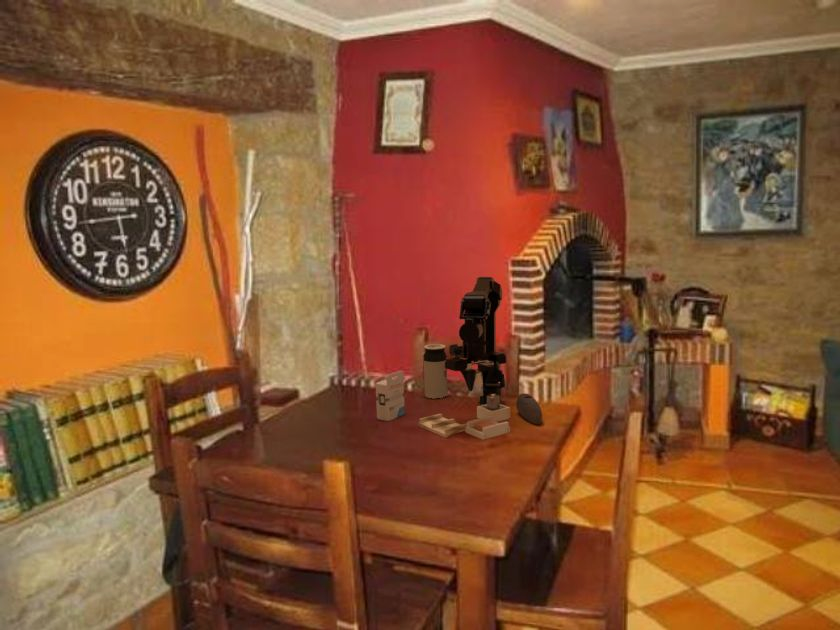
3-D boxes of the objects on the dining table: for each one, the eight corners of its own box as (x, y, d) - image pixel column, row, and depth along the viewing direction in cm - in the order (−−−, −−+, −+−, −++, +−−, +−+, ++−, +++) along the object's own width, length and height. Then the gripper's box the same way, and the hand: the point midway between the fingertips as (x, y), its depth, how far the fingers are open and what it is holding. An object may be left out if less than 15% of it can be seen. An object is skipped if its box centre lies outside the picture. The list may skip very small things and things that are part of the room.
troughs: (442, 420, 202) (441, 413, 202) (469, 431, 191) (469, 423, 191) (418, 425, 197) (418, 418, 197) (445, 437, 186) (444, 430, 186)
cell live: (477, 392, 193) (477, 367, 192) (485, 395, 190) (485, 369, 189) (466, 394, 191) (466, 369, 190) (475, 397, 188) (474, 371, 187)
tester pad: (488, 428, 191) (488, 420, 191) (499, 432, 187) (499, 424, 187) (475, 431, 189) (475, 424, 188) (486, 435, 185) (486, 428, 184)
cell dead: (494, 415, 204) (493, 391, 203) (502, 418, 200) (502, 394, 199) (484, 417, 202) (483, 393, 200) (492, 420, 198) (492, 396, 197)
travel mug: (420, 397, 228) (419, 347, 225) (431, 392, 235) (429, 343, 232) (441, 400, 224) (440, 349, 221) (451, 394, 231) (449, 344, 228)
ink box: (393, 412, 212) (391, 367, 210) (405, 414, 209) (403, 369, 207) (376, 419, 205) (374, 373, 203) (388, 421, 202) (386, 375, 200)
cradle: (491, 426, 194) (491, 415, 194) (510, 433, 188) (509, 422, 187) (465, 433, 189) (465, 422, 188) (483, 441, 182) (483, 429, 182)
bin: (494, 414, 206) (494, 402, 205) (510, 420, 200) (510, 407, 200) (477, 419, 202) (476, 406, 201) (492, 424, 196) (492, 411, 196)
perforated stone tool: (547, 427, 192) (547, 405, 191) (530, 429, 191) (529, 406, 190) (531, 412, 207) (531, 391, 206) (515, 414, 206) (515, 392, 205)
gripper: (483, 330, 200) (484, 380, 202) (433, 337, 190) (434, 389, 192) (507, 335, 191) (507, 387, 193) (455, 342, 181) (456, 397, 183)
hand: (476, 389), depth 190 cm, fingers closed on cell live, 4 cm apart
